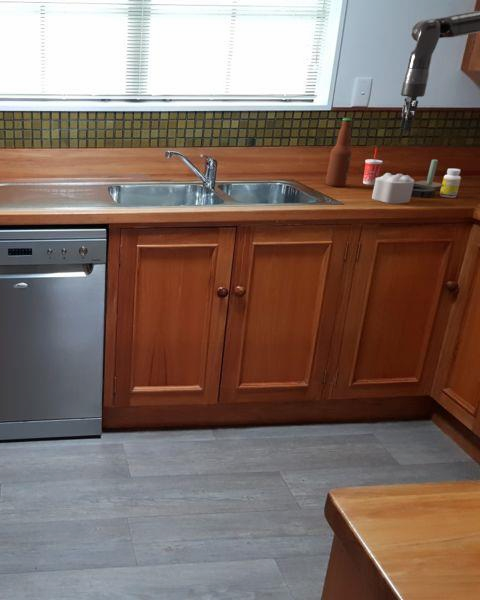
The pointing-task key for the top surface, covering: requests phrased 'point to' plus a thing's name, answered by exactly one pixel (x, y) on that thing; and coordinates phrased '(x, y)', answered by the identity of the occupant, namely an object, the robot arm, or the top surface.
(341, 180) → the bottle
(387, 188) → the white bumpy block
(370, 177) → the beverage cup
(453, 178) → the supplement bottle
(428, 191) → the ring
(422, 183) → the stand
